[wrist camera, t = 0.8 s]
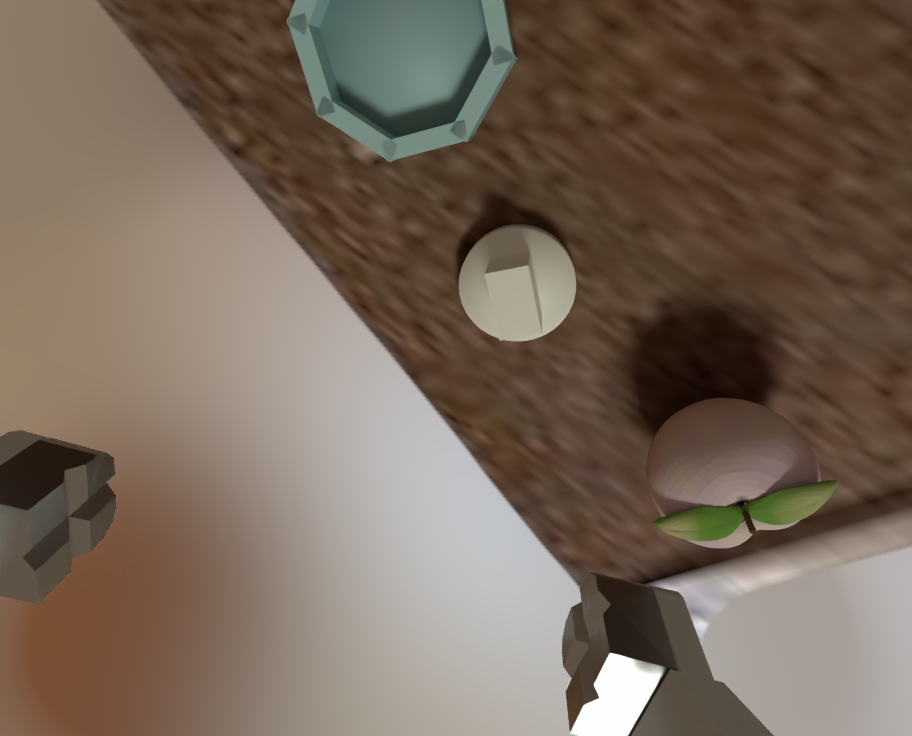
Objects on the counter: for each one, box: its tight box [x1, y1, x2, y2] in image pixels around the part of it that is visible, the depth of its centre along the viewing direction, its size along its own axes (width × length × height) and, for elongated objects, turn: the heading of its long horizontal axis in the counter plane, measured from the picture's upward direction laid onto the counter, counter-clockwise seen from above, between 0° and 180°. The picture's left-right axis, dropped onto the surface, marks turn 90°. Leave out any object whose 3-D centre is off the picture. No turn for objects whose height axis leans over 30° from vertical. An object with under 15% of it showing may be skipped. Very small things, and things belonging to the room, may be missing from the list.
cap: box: [459, 224, 576, 341], centre depth 33 cm, size 7×7×4 cm
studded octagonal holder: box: [287, 0, 517, 162], centre depth 28 cm, size 11×11×2 cm
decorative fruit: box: [647, 398, 838, 548], centre depth 32 cm, size 9×8×10 cm
